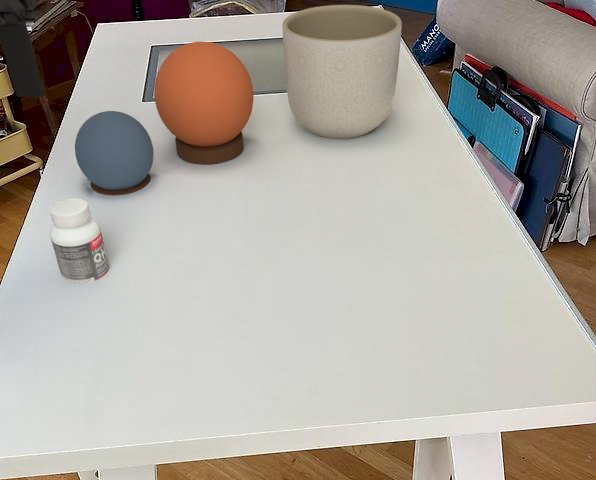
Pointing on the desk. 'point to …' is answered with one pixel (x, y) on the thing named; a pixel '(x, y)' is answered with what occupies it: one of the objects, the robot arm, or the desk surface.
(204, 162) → the terracotta ball
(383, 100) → the planter
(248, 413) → the desk surface
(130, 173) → the slate ball
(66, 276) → the pill bottle
